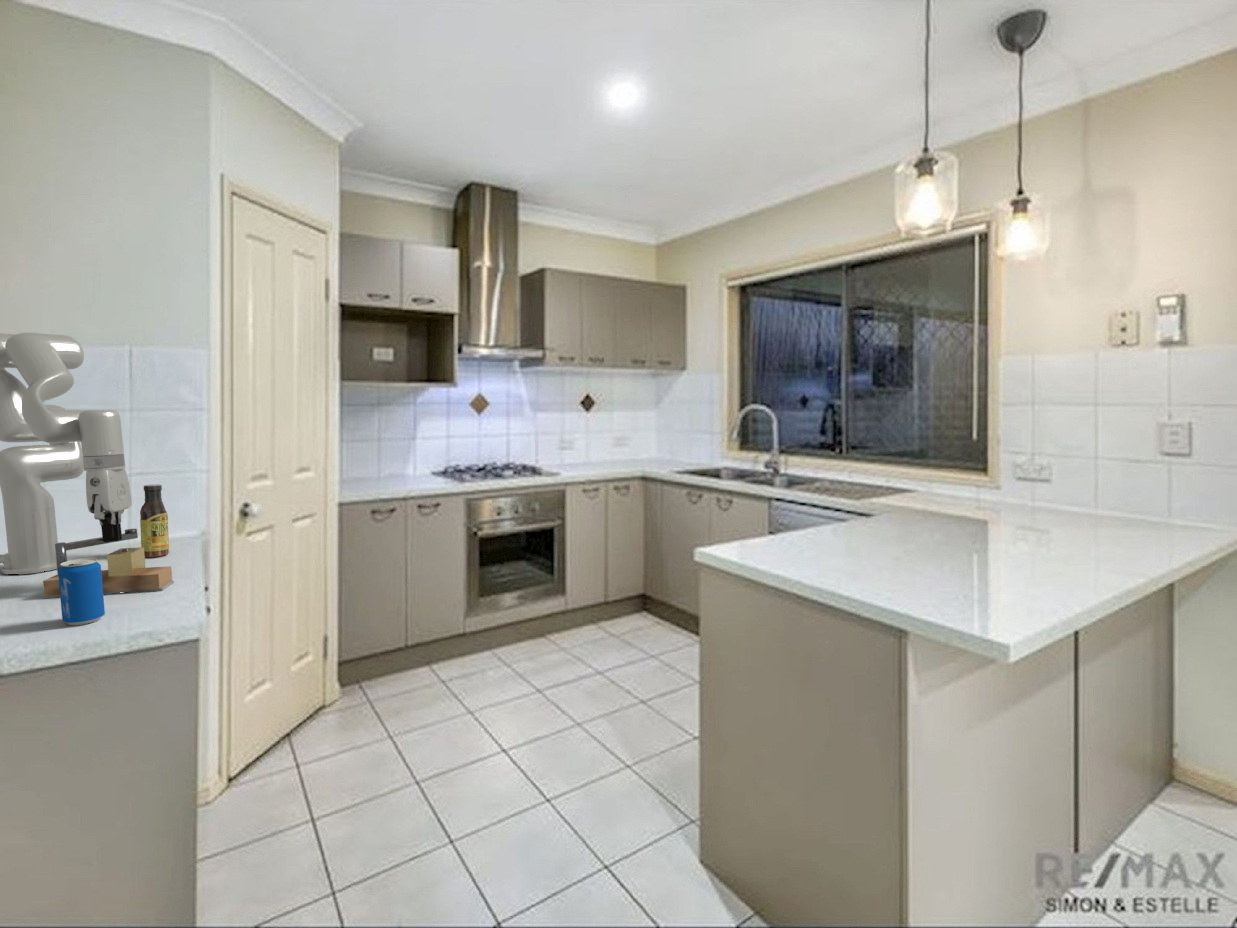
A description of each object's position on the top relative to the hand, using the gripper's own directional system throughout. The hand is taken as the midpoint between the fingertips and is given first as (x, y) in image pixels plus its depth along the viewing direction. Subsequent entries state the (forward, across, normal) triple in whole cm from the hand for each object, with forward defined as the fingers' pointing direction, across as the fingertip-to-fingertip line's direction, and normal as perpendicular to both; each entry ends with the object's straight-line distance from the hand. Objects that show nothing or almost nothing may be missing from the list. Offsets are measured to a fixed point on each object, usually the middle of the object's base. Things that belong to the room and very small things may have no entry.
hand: (112, 540), depth 150 cm
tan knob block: (+7, -5, -4) cm, 9 cm away
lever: (+6, +1, +3) cm, 7 cm away
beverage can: (+12, -26, -6) cm, 30 cm away
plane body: (+11, -5, -1) cm, 12 cm away
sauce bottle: (+10, +29, +4) cm, 31 cm away
